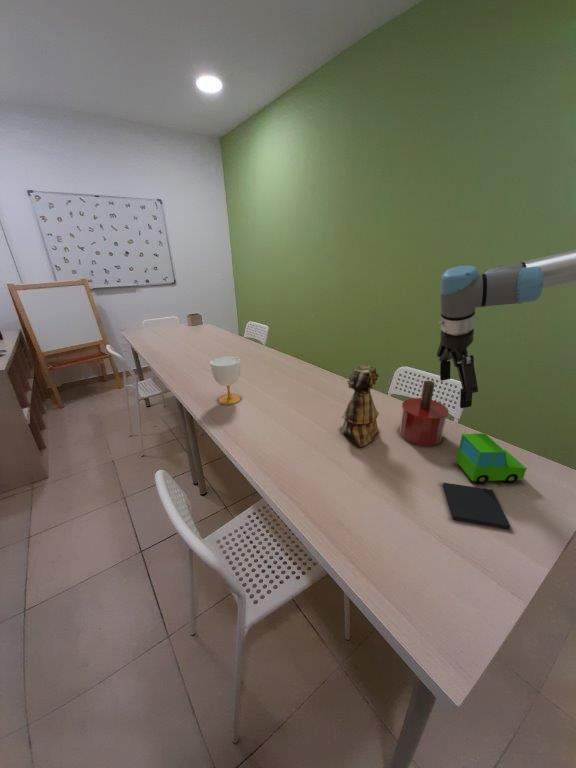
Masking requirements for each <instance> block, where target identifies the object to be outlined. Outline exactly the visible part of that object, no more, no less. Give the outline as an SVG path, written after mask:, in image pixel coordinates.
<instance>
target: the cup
mask: <svg viewBox="0 0 576 768" xmlns="http://www.w3.org/2000/svg"><path fill="white" fill-rule="evenodd" d="M209 363H210V367H211V372H212V376H213V379H214V381H215V382H216V384H218V385H220V386H223V387H226V390H227V394H225V395H223V396H220V397H219V398H218V402H219V403H220V404H222V405H234V404H236V403H238V402H240V401H241V396H240V395H238V394H232V393H231V386H233V385H235V384H237V382H238V381H239V379H240V377H241V368H242V367H241V359H240V358H239V357H236V356H220V357H216V358H214V359H212V360H210V362H209Z"/></svg>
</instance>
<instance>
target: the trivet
mask: <svg viewBox="0 0 576 768" xmlns="http://www.w3.org/2000/svg"><path fill="white" fill-rule="evenodd" d="M442 488H443V492H444V494H445V498H446V501H447V504H448V505H447V506H448V508H449V512H450V515H451V519H452V520H453V521H460V522H465V523H469V524H470V523H472V524H477V525H483V526H489V527H494V528H500V529H505V530H510V527H511V525H510V523H509V520H508V519H507V516H506V515H505V512H504V510H503V508H502V507H501V504H500V502H499V500H498V498H497V496H496V494H495V492H494V490H493V489H489V488H483V487H478V486H477V487H476V486H470V485H463V484H455V483H449V482H443V483H442Z"/></svg>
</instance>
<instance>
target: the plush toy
mask: <svg viewBox="0 0 576 768" xmlns="http://www.w3.org/2000/svg"><path fill="white" fill-rule="evenodd" d="M378 377H380V375H379V374H378V373H377V369H376V367H373V366H370V365H368V364H361V365H360V364H359V365H357V366H356V367H355V368H354V369H353V370H352V371H351V373H350V374H349V375H348V376H347V378H348V380H347V381H346V383H347V385H348V387H347V388H349V389H352V390H354V392H353V394H352V395H351V397H350V400H349V402H348V404H347V406H346V408H345V410H344V412H343V414H342V416H341V418H342V419H343V423H342V427H341V428H340V429H341V433H342V434H343V435H345V436H346V437H348V438H349V439H350V440H351V441H352V442H353V443H354V445H355V446H356V447H360V448H362V447H366V445H368V444H369V443H371V442H372V441H373V440H374V439H373V438H374V436H375V435H376V434H377V433H378V431H379V427H378V422H377V419H378V417H379V415H380V412H378V410H377V408H376V405H375V402H374V398H373V396H372V393H371V390H372V389H373V386H374V385H376V382H377V381H378Z"/></svg>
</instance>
